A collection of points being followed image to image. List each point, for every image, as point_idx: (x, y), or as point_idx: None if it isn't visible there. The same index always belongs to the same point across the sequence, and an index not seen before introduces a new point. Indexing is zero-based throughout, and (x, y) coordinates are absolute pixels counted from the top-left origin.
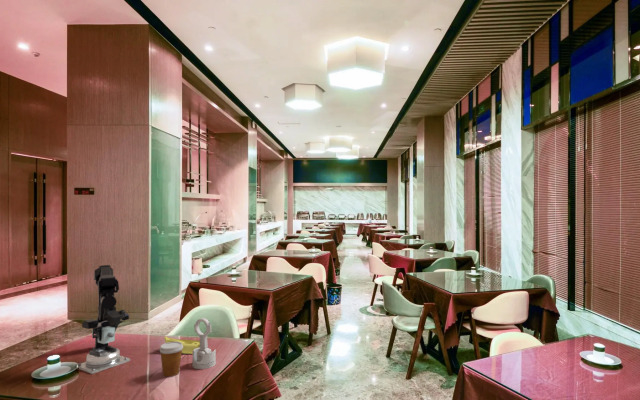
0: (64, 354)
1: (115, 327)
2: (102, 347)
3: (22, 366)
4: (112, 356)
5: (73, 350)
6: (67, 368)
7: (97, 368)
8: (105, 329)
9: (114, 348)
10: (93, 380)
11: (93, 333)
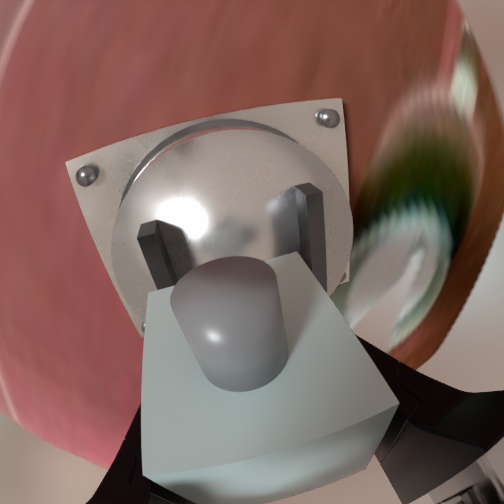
0: None
1: (131, 478)
2: None
3: None
4: (199, 136)
5: None
6: (364, 283)
7: (298, 125)
8: (343, 443)
9: (155, 242)
10: (355, 3)
11: None
